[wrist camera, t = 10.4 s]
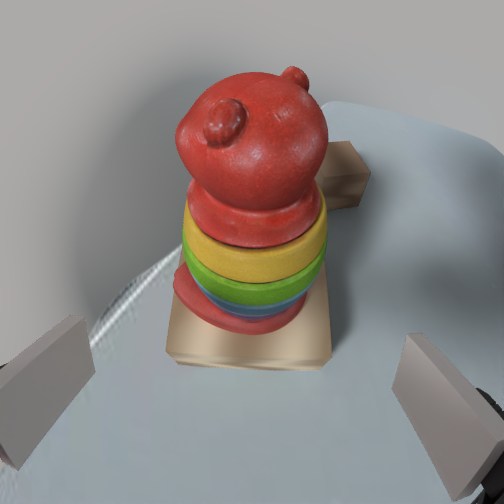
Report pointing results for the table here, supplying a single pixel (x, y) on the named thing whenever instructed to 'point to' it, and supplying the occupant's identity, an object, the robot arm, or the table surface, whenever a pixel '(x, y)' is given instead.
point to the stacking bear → (252, 201)
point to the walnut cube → (342, 176)
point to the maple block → (255, 337)
